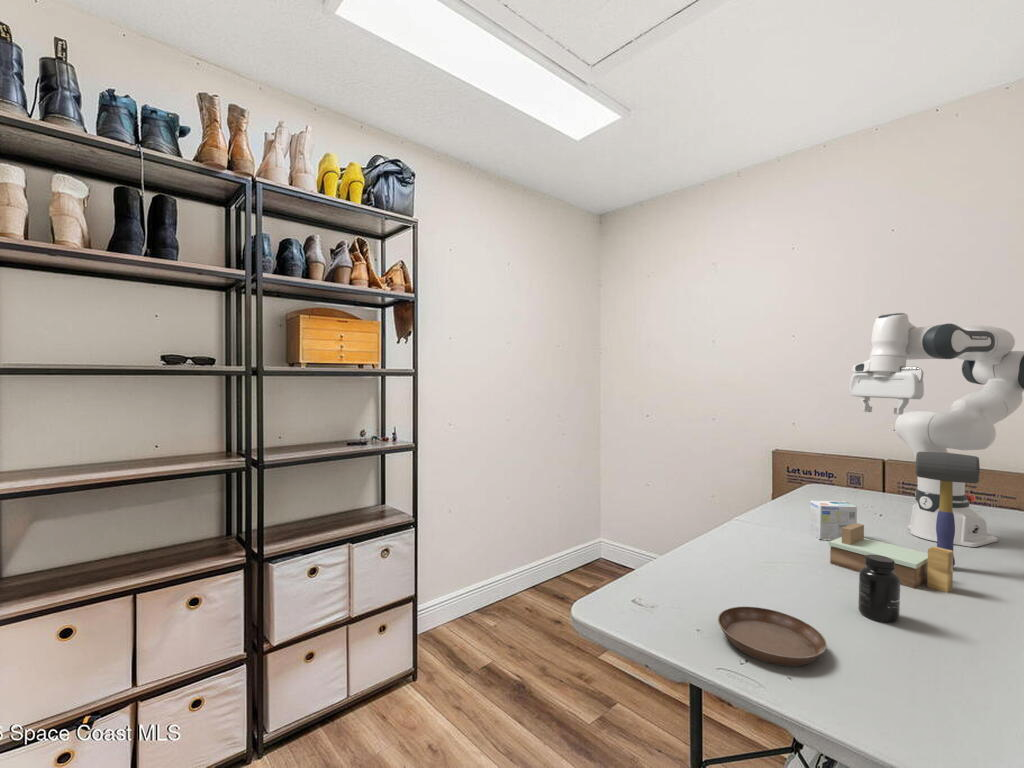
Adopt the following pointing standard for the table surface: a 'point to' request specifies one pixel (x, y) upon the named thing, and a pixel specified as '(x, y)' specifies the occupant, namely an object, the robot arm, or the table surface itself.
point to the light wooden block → (940, 569)
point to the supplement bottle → (879, 589)
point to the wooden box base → (857, 562)
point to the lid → (877, 547)
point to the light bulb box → (831, 518)
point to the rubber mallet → (947, 486)
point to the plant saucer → (772, 635)
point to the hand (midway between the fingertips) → (882, 413)
